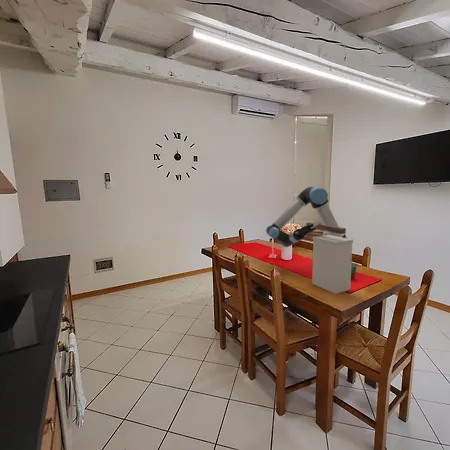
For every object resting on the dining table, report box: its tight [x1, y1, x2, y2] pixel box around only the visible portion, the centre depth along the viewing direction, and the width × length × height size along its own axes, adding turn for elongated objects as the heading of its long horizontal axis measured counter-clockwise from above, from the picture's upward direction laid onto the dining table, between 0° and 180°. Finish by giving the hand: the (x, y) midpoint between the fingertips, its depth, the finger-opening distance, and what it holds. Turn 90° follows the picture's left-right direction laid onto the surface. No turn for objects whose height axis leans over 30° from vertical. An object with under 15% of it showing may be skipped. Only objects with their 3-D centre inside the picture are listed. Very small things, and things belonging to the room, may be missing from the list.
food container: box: [351, 263, 358, 280], centre depth 176 cm, size 12×6×10 cm, turn 36°
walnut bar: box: [305, 221, 347, 235], centre depth 162 cm, size 3×28×3 cm, turn 26°
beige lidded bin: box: [311, 234, 354, 295], centre depth 159 cm, size 13×18×30 cm
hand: (319, 222), depth 165 cm, fingers closed on walnut bar, 3 cm apart
